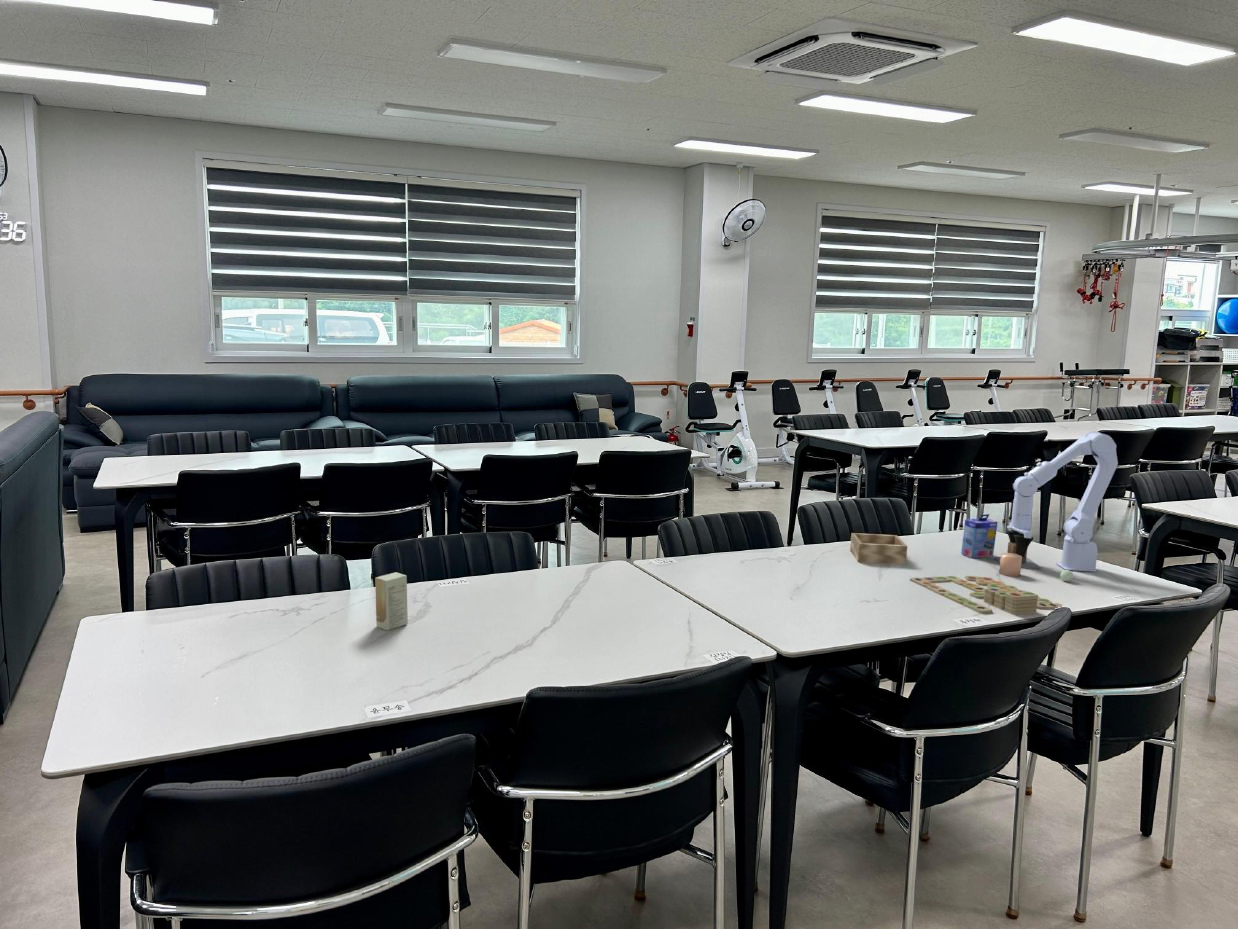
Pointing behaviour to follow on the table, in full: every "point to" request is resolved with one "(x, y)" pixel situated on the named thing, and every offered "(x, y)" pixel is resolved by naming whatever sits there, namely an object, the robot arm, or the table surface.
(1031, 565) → the slate pad
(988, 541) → the blue box with handle
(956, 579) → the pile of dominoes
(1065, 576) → the sage ball
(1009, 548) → the walnut block
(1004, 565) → the peach domed cylinder
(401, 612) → the skincare box
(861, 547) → the holder corral
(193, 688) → the table surface
